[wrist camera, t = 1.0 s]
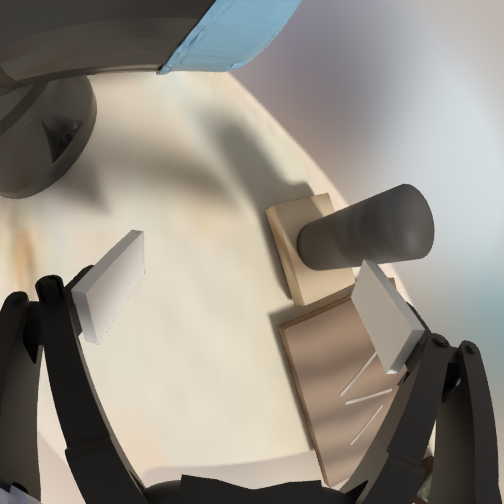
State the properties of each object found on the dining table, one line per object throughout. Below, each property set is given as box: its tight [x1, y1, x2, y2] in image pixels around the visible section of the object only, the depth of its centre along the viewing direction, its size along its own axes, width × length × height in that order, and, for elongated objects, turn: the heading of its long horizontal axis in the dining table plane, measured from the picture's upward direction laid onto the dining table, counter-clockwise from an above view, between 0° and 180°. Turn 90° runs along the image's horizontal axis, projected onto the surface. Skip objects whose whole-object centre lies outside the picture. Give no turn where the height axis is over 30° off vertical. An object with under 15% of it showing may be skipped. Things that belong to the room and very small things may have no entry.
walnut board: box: [278, 278, 407, 488], centre depth 26 cm, size 24×14×2 cm, turn 18°
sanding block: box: [265, 184, 434, 306], centre depth 20 cm, size 9×6×13 cm, turn 18°
